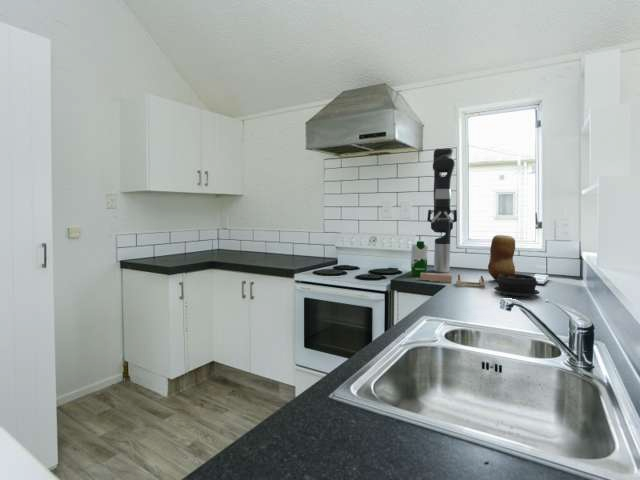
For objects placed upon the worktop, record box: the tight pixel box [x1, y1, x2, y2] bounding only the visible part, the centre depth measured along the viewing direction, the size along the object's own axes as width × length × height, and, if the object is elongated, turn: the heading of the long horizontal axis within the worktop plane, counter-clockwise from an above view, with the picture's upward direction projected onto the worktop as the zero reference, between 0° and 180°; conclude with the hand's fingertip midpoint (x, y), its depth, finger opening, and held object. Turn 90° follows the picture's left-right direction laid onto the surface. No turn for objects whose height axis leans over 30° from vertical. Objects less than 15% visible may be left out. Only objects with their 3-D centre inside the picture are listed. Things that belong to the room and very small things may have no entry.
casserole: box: [494, 273, 540, 298], centre depth 180 cm, size 25×19×8 cm
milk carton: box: [410, 240, 428, 278], centre depth 228 cm, size 9×9×20 cm
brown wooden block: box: [419, 272, 453, 284], centre depth 213 cm, size 4×16×4 cm, turn 69°
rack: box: [456, 274, 486, 289], centre depth 201 cm, size 10×13×4 cm
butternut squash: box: [487, 234, 516, 283], centre depth 213 cm, size 14×13×25 cm
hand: (441, 230), depth 202 cm, fingers open, 8 cm apart
